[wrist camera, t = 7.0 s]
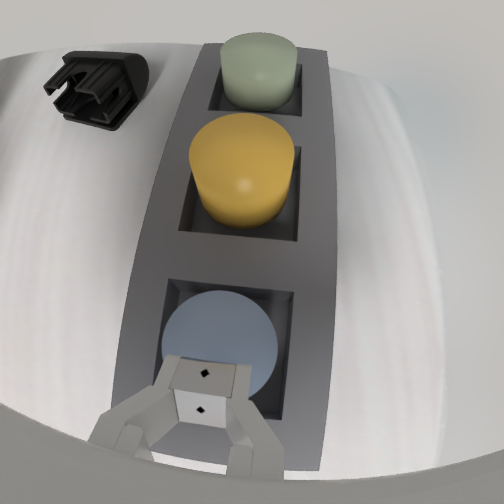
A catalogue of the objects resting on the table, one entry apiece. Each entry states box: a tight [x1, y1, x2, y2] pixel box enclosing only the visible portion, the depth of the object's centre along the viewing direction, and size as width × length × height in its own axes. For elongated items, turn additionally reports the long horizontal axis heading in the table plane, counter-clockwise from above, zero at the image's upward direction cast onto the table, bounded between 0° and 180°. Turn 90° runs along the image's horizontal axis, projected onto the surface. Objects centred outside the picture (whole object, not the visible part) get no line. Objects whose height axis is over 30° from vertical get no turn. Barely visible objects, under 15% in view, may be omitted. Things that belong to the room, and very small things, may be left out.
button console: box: [111, 43, 337, 471], centre depth 21 cm, size 10×28×8 cm, turn 174°
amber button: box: [189, 113, 294, 229], centre depth 16 cm, size 5×5×4 cm
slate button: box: [162, 290, 278, 397], centre depth 14 cm, size 5×5×4 cm
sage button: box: [220, 33, 297, 112], centre depth 19 cm, size 5×5×4 cm
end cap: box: [43, 51, 149, 131], centre depth 27 cm, size 10×7×7 cm
